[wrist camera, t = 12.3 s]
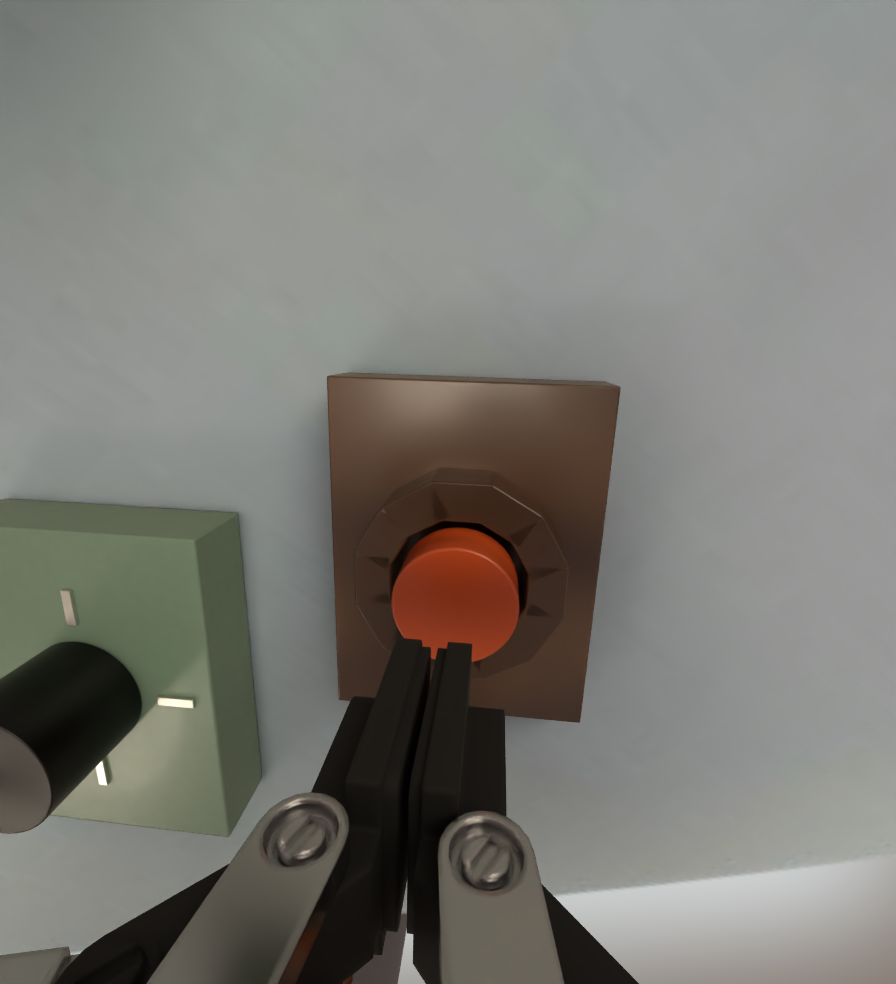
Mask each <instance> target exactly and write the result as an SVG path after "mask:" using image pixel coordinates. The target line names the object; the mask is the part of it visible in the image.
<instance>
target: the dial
mask: <svg viewBox="0 0 896 984" xmlns="http://www.w3.org/2000/svg"><path fill="white" fill-rule="evenodd" d="M141 707H142V702H141V695H140V691H139V688H138V686H137V684H136V682H135V680H134V678H133V676H132V675H131V673H130V672H129V671H128V670H127V668H126V667H125V666H124V665H123V664H122V663H121V662H120V661H119V660H118V659H116V658H115V657H114V656H113V655H111V654H109V653H108V652H106V651H105V650H103V649H101V648H99V647H96V646H93V645H90V644H87V643H82V642H62V643H58V644H55V645H52V646H50V647H48V648H47V649H45V650H44V651H42V652H40V653H39V654H37V655H36V656H34V657H33V658H31V659H30V660H28V661H27V662H25V663H24V664H22V665H21V666H19V667H18V668H16V669H15V670H13V671H12V672H10V673H9V674H7V675H6V676H4V677H3V678H1V679H0V833H8V834H9V833H20V832H25V831H28V830H31V829H33V828H34V827H36V826H38V825H39V824H41V823H42V822H43V821H44V820H45V819H46V818H47V817H48V816H49V815H50V814H51V813H52V812H53V811H54V810H55V809H56V808H57V807H58V806H59V805H60V804H61V803H62V802H63V801H64V800H65V798H66V797H67V796H68V795H69V794H70V793H71V792H72V791H73V790H74V789H75V788H76V787H77V786H78V785H79V784H80V783H81V782H82V781H83V780H84V779H85V778H86V777H87V776H88V775H89V774H90V773H91V772H92V771H93V770H94V769H95V768H96V766H97V765H98V764H99V763H100V762H101V761H102V760H103V759H104V758H105V757H106V756H107V755H108V754H109V753H110V752H111V751H112V750H113V749H114V748H115V747H116V746H117V745H118V744H119V743H120V742H121V741H122V740H123V739H124V738H125V737H126V735H127V734H128V733H129V732H130V731H131V730H132V729H133V728H134V727H135V725H136V724H137V722H138V720H139V717H140V714H141Z"/></svg>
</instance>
